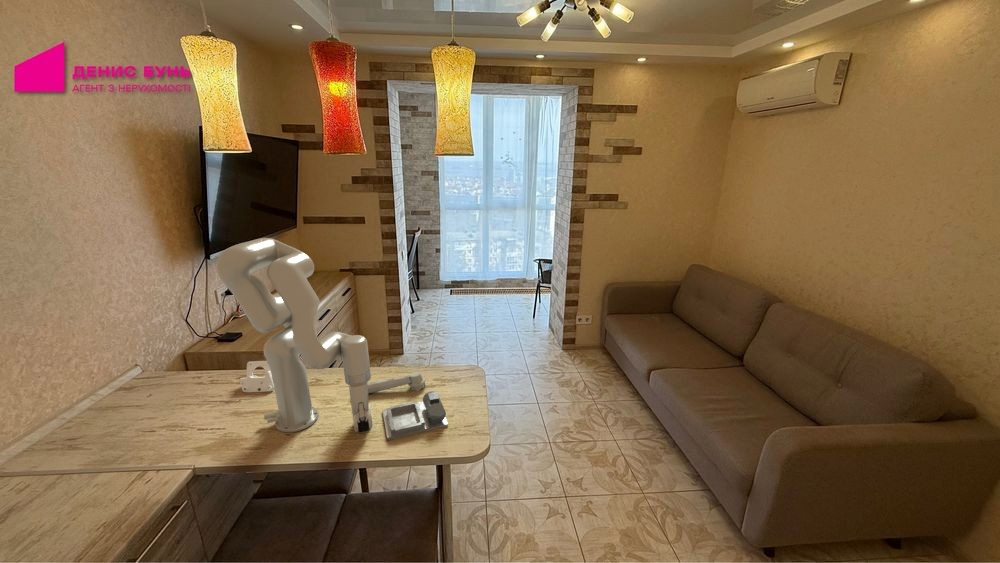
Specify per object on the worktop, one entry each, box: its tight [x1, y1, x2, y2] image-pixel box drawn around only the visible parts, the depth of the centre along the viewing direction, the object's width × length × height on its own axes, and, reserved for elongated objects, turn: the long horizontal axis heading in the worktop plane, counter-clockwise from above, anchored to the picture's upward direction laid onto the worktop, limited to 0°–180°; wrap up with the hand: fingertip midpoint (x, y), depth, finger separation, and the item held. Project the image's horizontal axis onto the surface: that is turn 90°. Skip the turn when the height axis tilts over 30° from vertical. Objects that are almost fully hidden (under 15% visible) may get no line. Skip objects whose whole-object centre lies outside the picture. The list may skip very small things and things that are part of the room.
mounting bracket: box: [239, 360, 275, 393], centre depth 146 cm, size 12×6×11 cm, turn 96°
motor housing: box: [382, 390, 449, 441], centre depth 128 cm, size 19×15×8 cm
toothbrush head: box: [367, 371, 426, 395], centre depth 145 cm, size 5×7×25 cm
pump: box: [352, 403, 374, 434], centre depth 124 cm, size 6×6×8 cm
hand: (363, 421), depth 125 cm, fingers open, 9 cm apart
